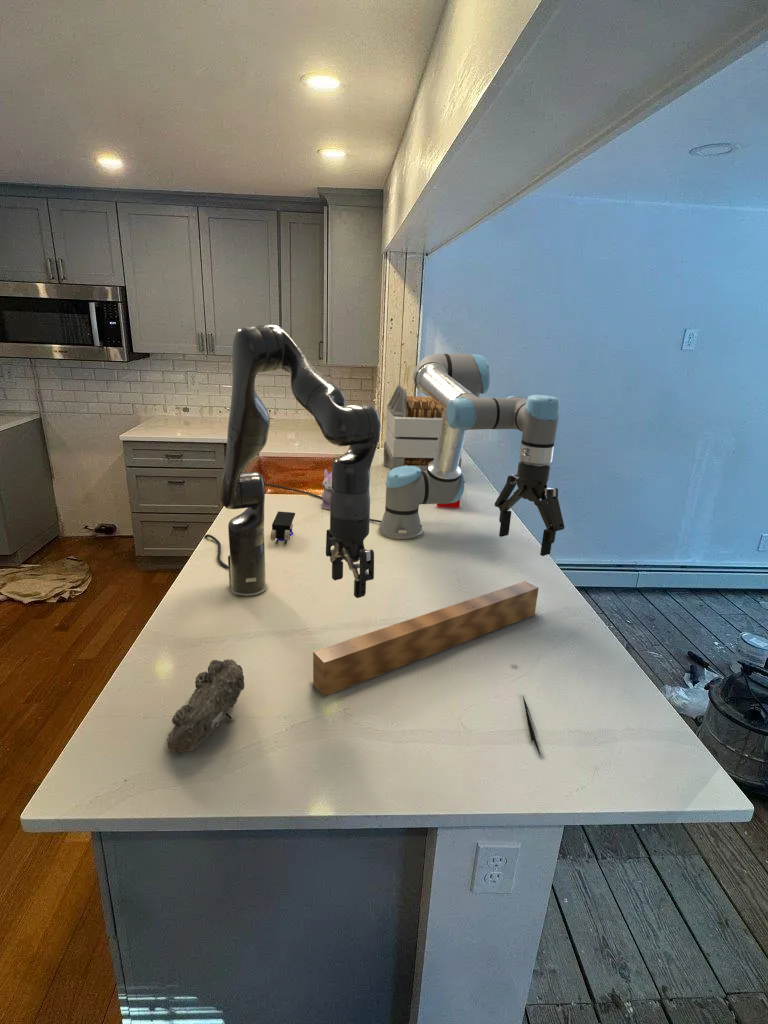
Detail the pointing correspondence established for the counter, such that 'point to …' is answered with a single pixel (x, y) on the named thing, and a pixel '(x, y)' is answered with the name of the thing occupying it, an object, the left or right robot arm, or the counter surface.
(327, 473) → the figurine
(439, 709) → the counter surface
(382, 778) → the counter surface
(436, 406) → the grey crate
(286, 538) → the black wheeled block
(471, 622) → the bar
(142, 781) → the counter surface
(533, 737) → the feather
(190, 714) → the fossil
